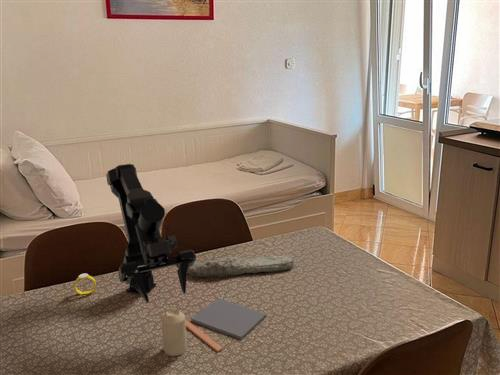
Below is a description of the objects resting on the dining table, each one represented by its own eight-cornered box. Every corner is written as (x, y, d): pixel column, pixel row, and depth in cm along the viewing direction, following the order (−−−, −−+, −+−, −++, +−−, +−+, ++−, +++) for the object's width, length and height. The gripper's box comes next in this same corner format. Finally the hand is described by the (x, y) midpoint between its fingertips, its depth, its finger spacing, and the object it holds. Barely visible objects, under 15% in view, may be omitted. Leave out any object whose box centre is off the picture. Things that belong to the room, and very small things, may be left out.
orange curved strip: (177, 320, 126) (177, 318, 126) (182, 318, 127) (182, 316, 127) (217, 352, 113) (217, 350, 113) (222, 349, 114) (222, 347, 114)
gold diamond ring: (75, 297, 140) (71, 279, 138) (76, 293, 142) (72, 275, 140) (97, 293, 141) (93, 275, 139) (97, 289, 143) (93, 271, 142)
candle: (182, 357, 111) (180, 320, 109) (160, 354, 113) (157, 317, 110) (190, 343, 117) (187, 307, 114) (168, 341, 118) (166, 305, 115)
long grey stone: (297, 277, 152) (290, 264, 162) (297, 261, 151) (290, 250, 160) (186, 281, 147) (185, 268, 156) (186, 264, 146) (185, 253, 155)
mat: (191, 321, 126) (190, 318, 126) (217, 300, 136) (217, 298, 135) (241, 339, 118) (241, 336, 117) (266, 316, 127) (266, 314, 127)
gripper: (115, 233, 111) (131, 296, 105) (191, 219, 119) (210, 277, 113) (112, 252, 120) (126, 311, 114) (183, 238, 128) (200, 292, 122)
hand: (166, 297), depth 115 cm, fingers open, 9 cm apart
